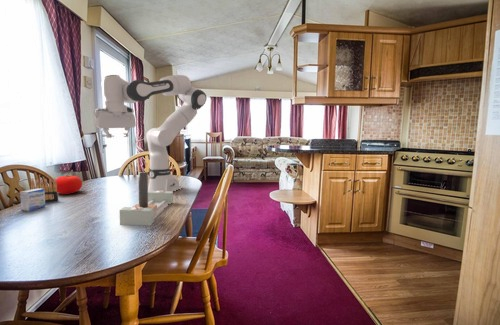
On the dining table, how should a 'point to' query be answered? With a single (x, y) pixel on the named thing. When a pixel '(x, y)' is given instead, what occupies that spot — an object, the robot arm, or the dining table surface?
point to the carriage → (144, 192)
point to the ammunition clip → (49, 192)
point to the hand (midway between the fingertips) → (117, 137)
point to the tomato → (68, 184)
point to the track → (146, 209)
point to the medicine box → (32, 199)
